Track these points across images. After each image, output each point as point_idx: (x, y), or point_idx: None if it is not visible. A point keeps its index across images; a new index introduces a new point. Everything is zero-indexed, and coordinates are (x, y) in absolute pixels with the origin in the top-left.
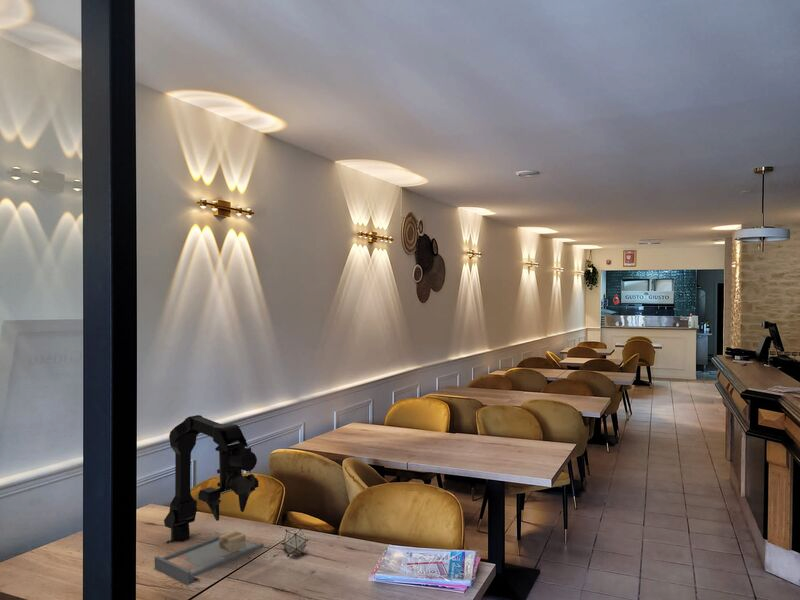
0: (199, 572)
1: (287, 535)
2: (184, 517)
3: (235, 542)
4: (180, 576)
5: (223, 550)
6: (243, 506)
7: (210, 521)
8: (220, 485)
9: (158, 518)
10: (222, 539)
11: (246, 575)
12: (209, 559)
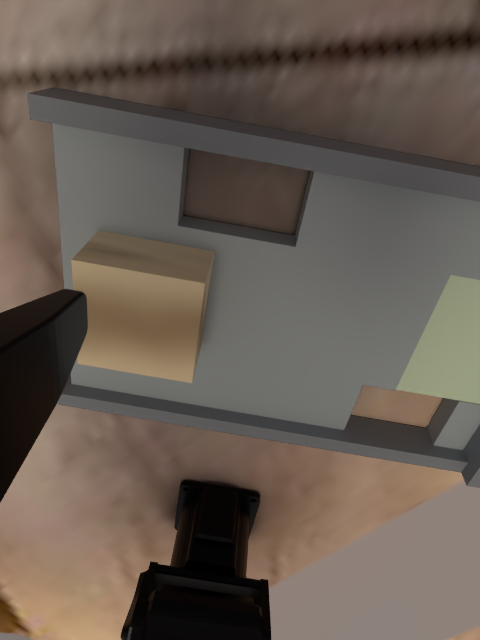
0: None
1: None
2: (224, 611)
3: (166, 263)
4: None
5: (222, 296)
6: (39, 326)
7: (20, 529)
8: None
9: (120, 634)
10: (197, 348)
11: None
12: (353, 283)
